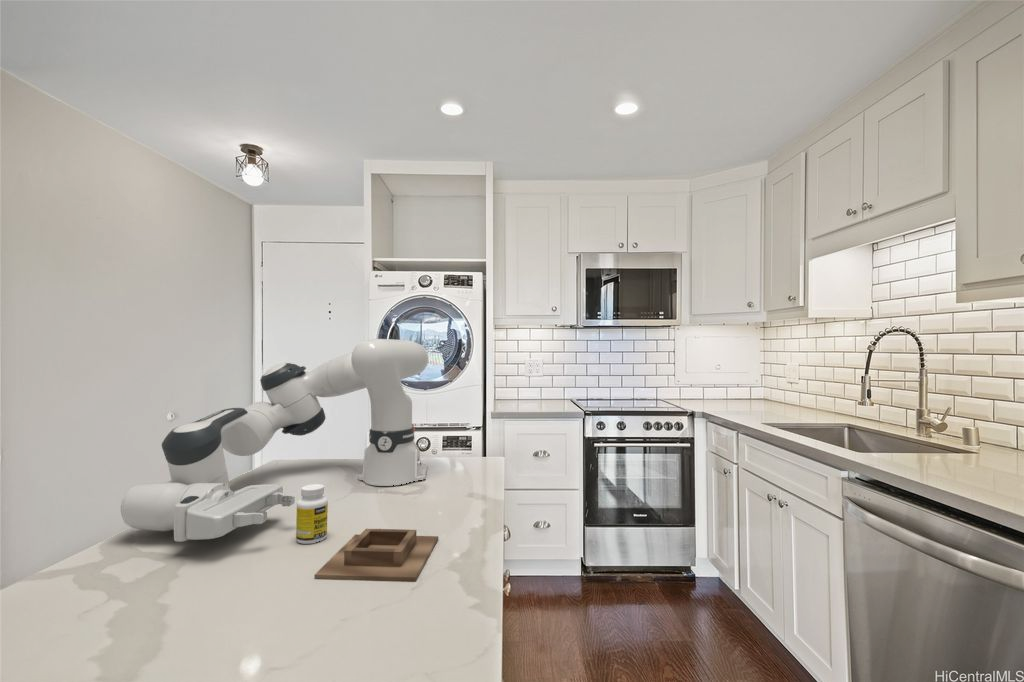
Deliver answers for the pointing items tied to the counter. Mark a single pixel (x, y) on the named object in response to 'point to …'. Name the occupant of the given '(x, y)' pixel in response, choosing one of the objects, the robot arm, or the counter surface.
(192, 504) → the robot arm
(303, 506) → the supplement bottle
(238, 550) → the counter surface
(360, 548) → the walnut can holder
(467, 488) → the counter surface
